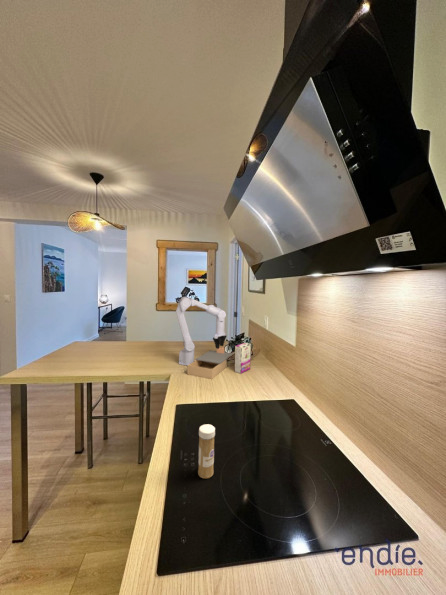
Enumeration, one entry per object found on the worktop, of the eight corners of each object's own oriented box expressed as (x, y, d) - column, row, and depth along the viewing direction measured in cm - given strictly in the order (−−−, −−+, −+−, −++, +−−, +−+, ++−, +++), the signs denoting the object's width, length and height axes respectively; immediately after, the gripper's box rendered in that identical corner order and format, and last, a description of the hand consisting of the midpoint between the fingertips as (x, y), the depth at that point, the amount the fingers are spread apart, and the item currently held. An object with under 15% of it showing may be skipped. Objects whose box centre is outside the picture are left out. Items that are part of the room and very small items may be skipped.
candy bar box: (243, 367, 163) (244, 342, 162) (250, 369, 160) (251, 343, 159) (233, 372, 154) (234, 345, 153) (240, 374, 151) (241, 347, 150)
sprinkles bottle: (209, 481, 70) (211, 434, 69) (195, 476, 71) (196, 430, 70) (216, 470, 74) (217, 425, 73) (202, 465, 76) (203, 422, 75)
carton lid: (195, 359, 157) (195, 353, 157) (210, 351, 178) (210, 345, 178) (220, 363, 151) (220, 357, 151) (232, 354, 172) (233, 348, 172)
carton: (187, 374, 148) (187, 365, 148) (204, 363, 168) (204, 355, 168) (212, 379, 142) (212, 369, 142) (226, 367, 162) (226, 358, 162)
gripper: (221, 329, 163) (221, 350, 164) (229, 326, 176) (228, 345, 177) (211, 328, 166) (211, 348, 166) (220, 325, 179) (219, 344, 180)
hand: (219, 347), depth 172 cm, fingers open, 7 cm apart
